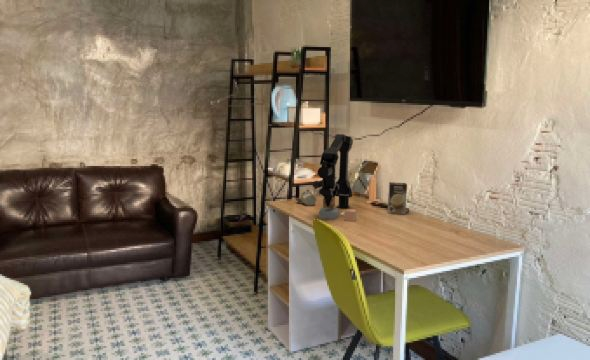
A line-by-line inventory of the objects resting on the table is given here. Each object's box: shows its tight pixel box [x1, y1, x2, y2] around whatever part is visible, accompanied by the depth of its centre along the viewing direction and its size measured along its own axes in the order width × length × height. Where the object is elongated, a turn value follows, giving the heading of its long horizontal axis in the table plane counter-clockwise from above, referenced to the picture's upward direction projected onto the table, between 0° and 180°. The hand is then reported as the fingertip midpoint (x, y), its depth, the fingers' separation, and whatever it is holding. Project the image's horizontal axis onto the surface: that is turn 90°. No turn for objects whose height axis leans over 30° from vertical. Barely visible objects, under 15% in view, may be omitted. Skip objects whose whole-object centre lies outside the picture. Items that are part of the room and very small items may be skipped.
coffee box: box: [387, 182, 408, 215], centre depth 272 cm, size 9×6×16 cm
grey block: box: [318, 207, 340, 220], centre depth 263 cm, size 9×9×4 cm
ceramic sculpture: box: [295, 189, 317, 207], centre depth 294 cm, size 11×9×15 cm
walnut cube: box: [322, 196, 336, 209], centre depth 262 cm, size 5×5×5 cm
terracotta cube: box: [344, 208, 358, 222], centre depth 257 cm, size 5×5×5 cm
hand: (329, 205), depth 263 cm, fingers closed on walnut cube, 5 cm apart
